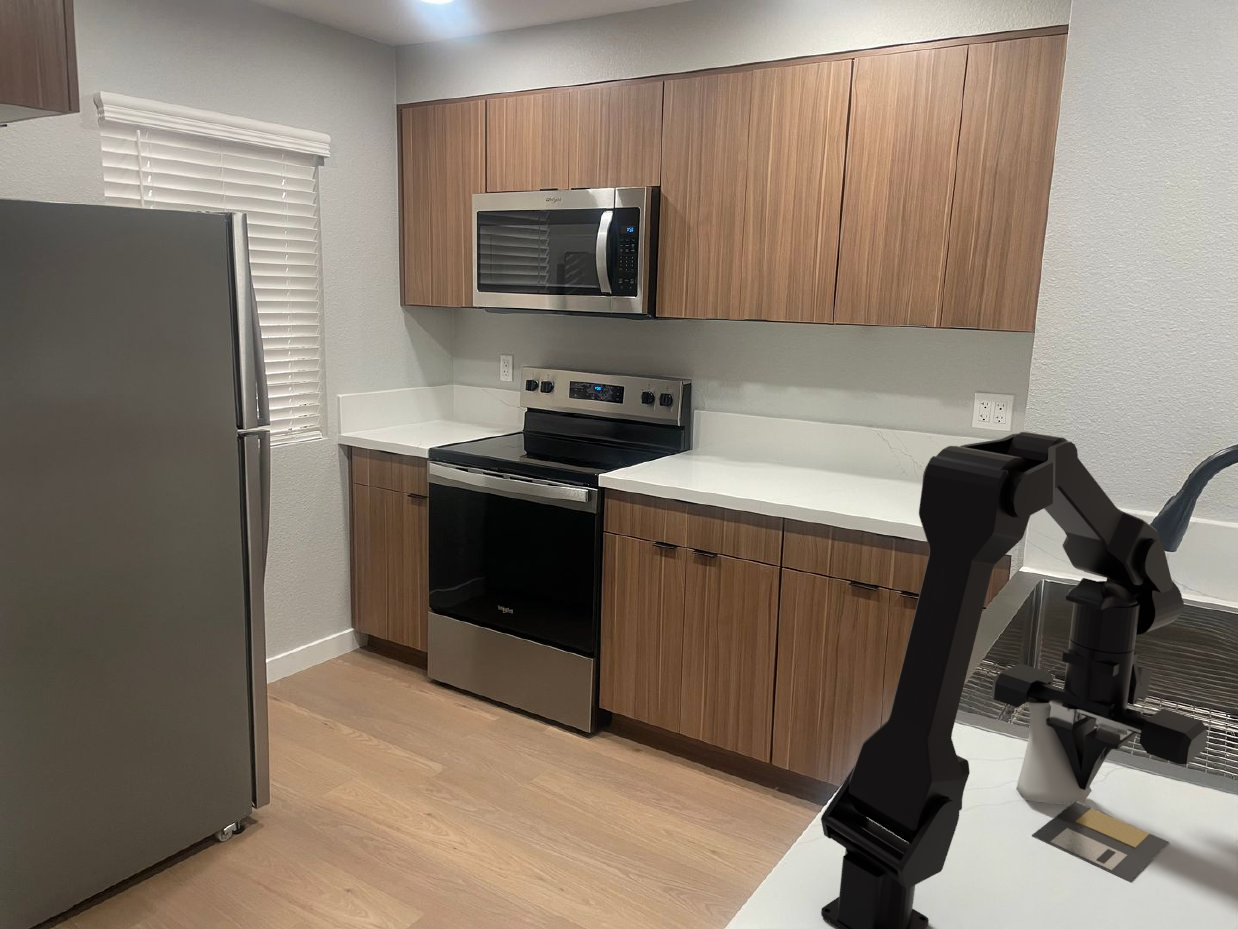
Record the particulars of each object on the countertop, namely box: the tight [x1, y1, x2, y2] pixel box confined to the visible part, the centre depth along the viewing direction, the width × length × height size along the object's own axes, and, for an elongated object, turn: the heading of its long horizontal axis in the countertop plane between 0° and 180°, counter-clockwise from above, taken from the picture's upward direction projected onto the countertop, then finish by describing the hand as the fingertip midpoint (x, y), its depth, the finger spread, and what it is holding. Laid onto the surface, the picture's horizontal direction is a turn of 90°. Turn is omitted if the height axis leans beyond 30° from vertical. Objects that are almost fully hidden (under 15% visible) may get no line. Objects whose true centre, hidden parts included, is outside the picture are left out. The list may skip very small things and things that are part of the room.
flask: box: [1015, 697, 1093, 805], centre depth 96 cm, size 7×7×10 cm
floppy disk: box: [1031, 802, 1170, 882], centre depth 89 cm, size 10×9×1 cm
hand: (1084, 788), depth 93 cm, fingers closed
